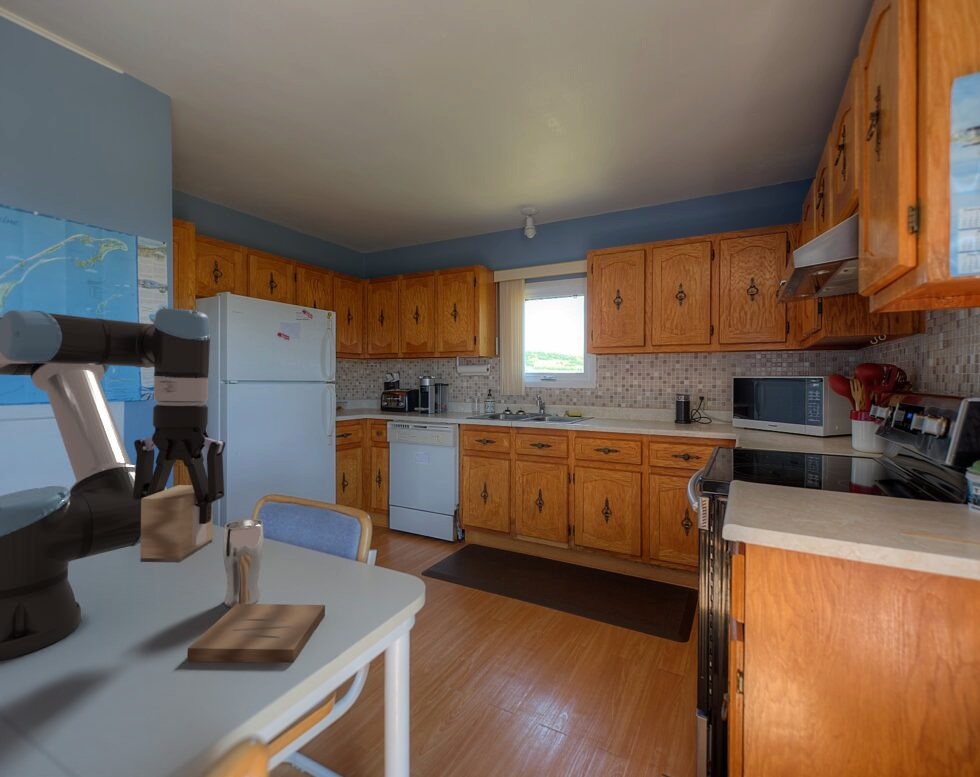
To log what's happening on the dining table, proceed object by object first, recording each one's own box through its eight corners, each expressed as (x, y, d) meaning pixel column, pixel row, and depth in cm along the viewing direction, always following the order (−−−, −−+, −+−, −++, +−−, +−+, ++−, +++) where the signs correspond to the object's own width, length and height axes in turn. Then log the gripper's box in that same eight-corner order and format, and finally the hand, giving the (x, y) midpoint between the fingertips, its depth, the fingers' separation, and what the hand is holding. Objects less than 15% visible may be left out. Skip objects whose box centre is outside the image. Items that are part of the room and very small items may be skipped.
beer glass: (245, 611, 85) (246, 530, 85) (212, 606, 86) (214, 527, 86) (270, 594, 92) (271, 519, 91) (240, 590, 93) (241, 517, 93)
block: (140, 561, 72) (141, 498, 72) (177, 541, 81) (178, 485, 81) (179, 562, 72) (180, 499, 72) (212, 542, 81) (213, 485, 81)
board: (187, 661, 69) (187, 648, 69) (236, 614, 83) (236, 603, 83) (293, 662, 70) (293, 649, 70) (324, 615, 84) (325, 604, 84)
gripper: (104, 402, 72) (101, 548, 72) (226, 406, 72) (223, 551, 73) (140, 400, 80) (137, 533, 80) (250, 404, 80) (247, 535, 80)
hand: (178, 541), depth 76 cm, fingers closed on block, 6 cm apart
